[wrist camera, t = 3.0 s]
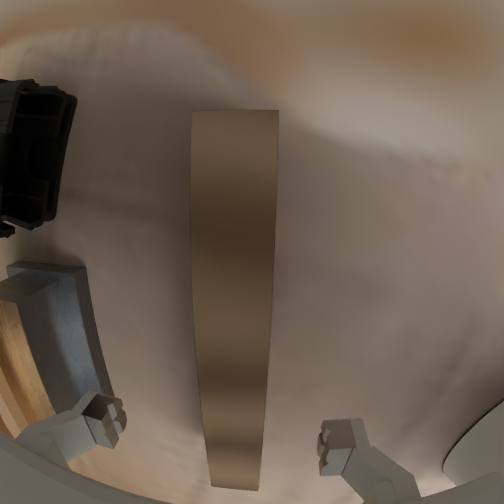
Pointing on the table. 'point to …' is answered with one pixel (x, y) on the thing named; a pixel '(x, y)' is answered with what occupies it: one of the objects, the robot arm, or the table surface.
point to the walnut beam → (233, 282)
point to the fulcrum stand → (47, 341)
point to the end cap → (31, 151)
